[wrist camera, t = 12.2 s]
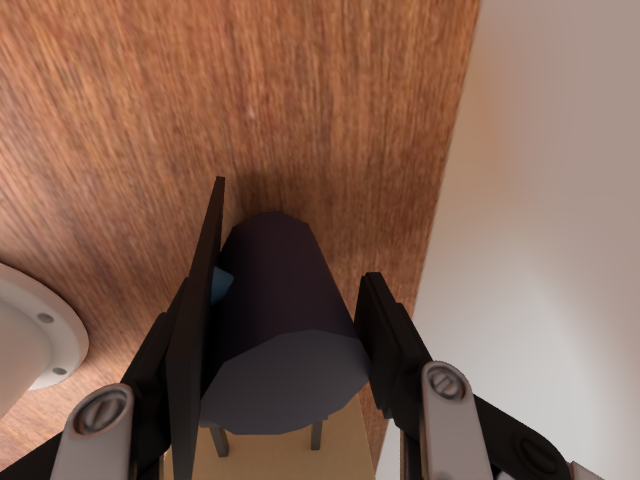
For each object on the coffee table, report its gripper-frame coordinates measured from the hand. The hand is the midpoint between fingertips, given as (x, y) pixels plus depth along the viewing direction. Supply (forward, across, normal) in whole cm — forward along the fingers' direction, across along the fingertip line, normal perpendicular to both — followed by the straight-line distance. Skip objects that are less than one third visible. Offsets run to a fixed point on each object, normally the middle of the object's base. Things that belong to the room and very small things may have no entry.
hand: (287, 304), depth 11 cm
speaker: (+5, +1, 0) cm, 6 cm away
